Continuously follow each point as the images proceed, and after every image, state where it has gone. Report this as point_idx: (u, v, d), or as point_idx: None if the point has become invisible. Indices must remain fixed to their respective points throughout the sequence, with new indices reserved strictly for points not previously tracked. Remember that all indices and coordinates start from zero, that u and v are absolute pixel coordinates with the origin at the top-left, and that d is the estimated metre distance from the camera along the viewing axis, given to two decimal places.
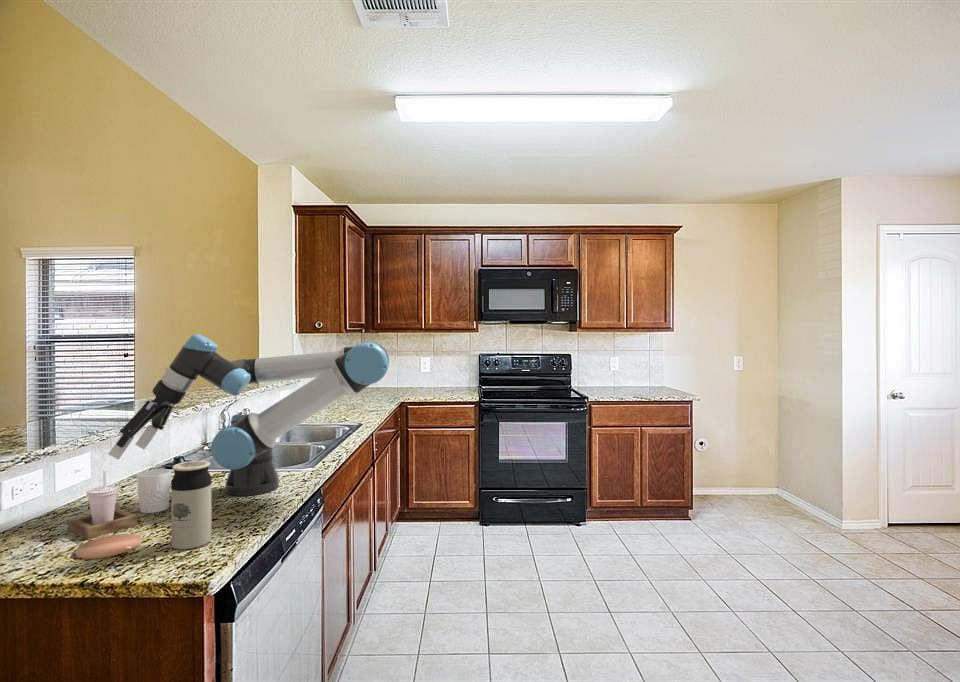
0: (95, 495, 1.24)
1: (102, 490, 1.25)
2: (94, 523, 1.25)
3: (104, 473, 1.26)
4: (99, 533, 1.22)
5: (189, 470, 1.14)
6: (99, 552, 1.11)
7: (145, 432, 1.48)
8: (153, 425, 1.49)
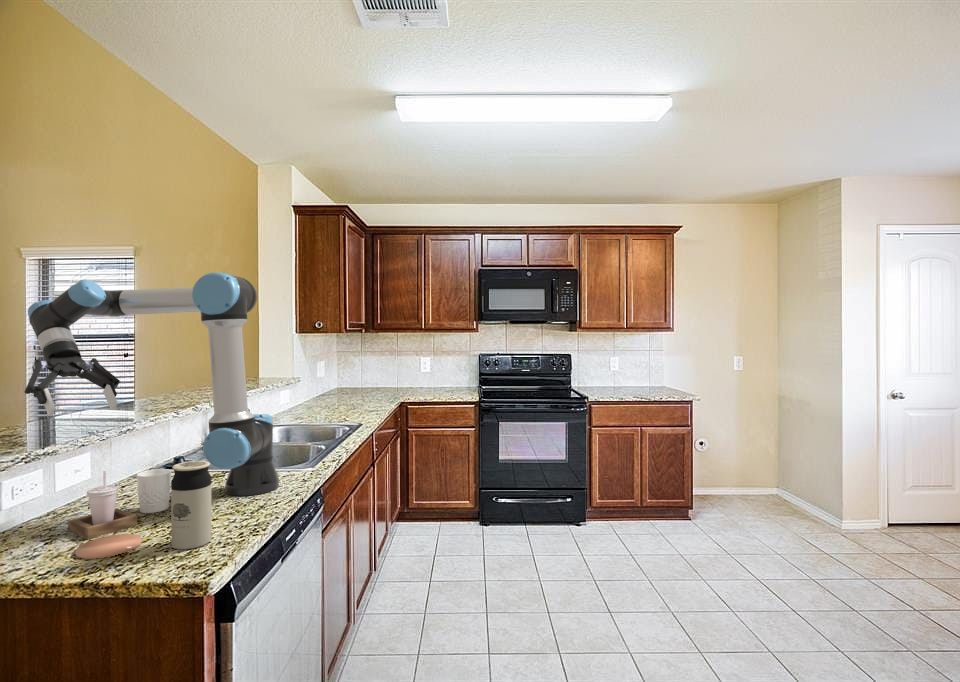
0: (95, 495, 1.24)
1: (102, 490, 1.25)
2: (94, 523, 1.25)
3: (104, 473, 1.26)
4: (99, 533, 1.22)
5: (189, 470, 1.14)
6: (99, 552, 1.11)
7: (106, 396, 1.40)
8: None
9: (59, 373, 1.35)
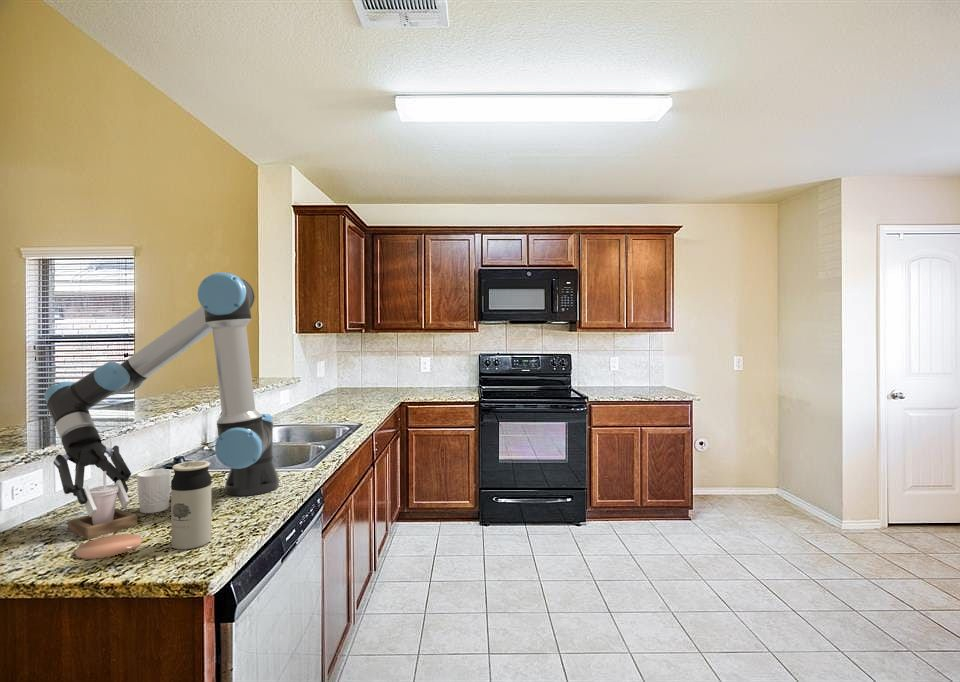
0: (95, 495, 1.24)
1: (102, 490, 1.25)
2: (94, 523, 1.25)
3: (104, 473, 1.26)
4: (99, 533, 1.22)
5: (189, 470, 1.14)
6: (99, 552, 1.11)
7: (117, 493, 1.30)
8: None
9: None
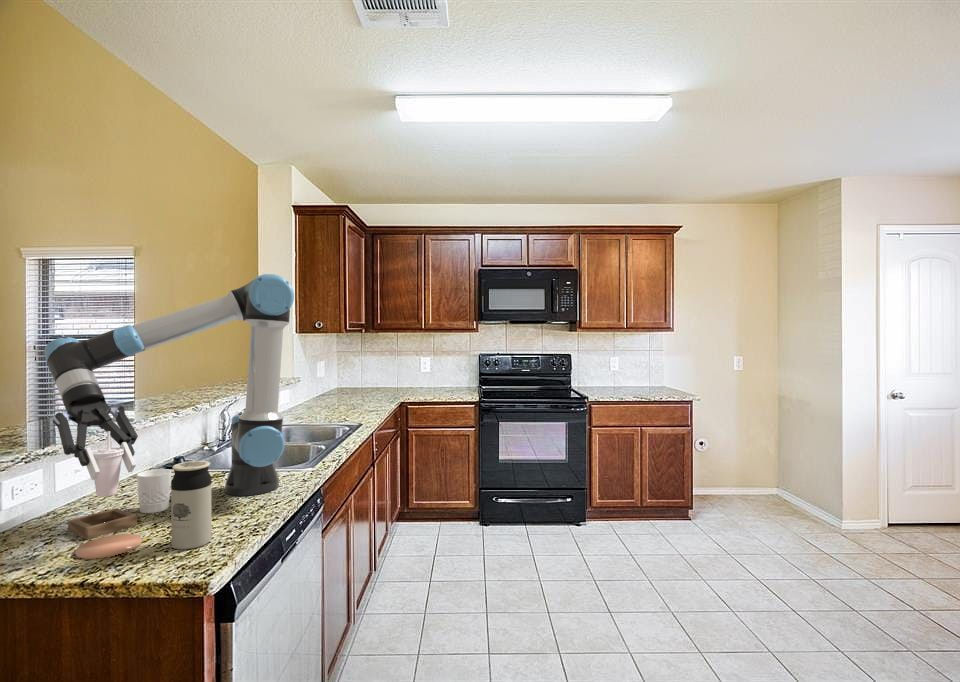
0: (98, 457, 1.12)
1: (106, 452, 1.14)
2: (97, 488, 1.14)
3: (108, 433, 1.15)
4: (99, 533, 1.22)
5: (189, 470, 1.14)
6: (99, 552, 1.11)
7: (122, 456, 1.18)
8: None
9: None
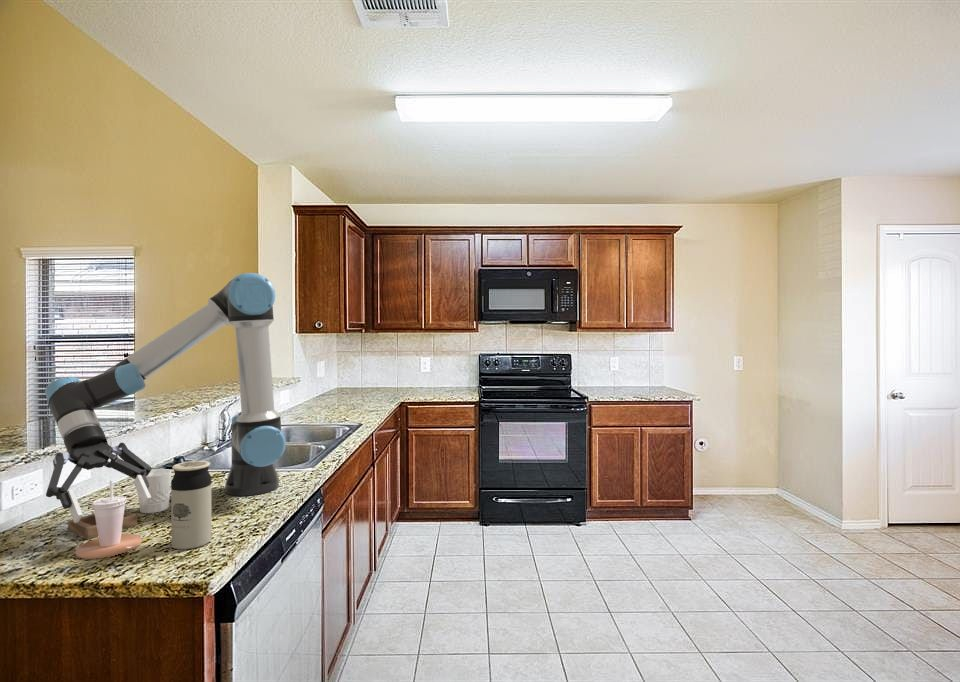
0: (101, 507, 1.12)
1: (109, 501, 1.14)
2: (100, 538, 1.14)
3: (111, 483, 1.15)
4: None
5: (189, 470, 1.14)
6: (99, 552, 1.11)
7: (137, 488, 1.21)
8: None
9: (84, 466, 1.17)
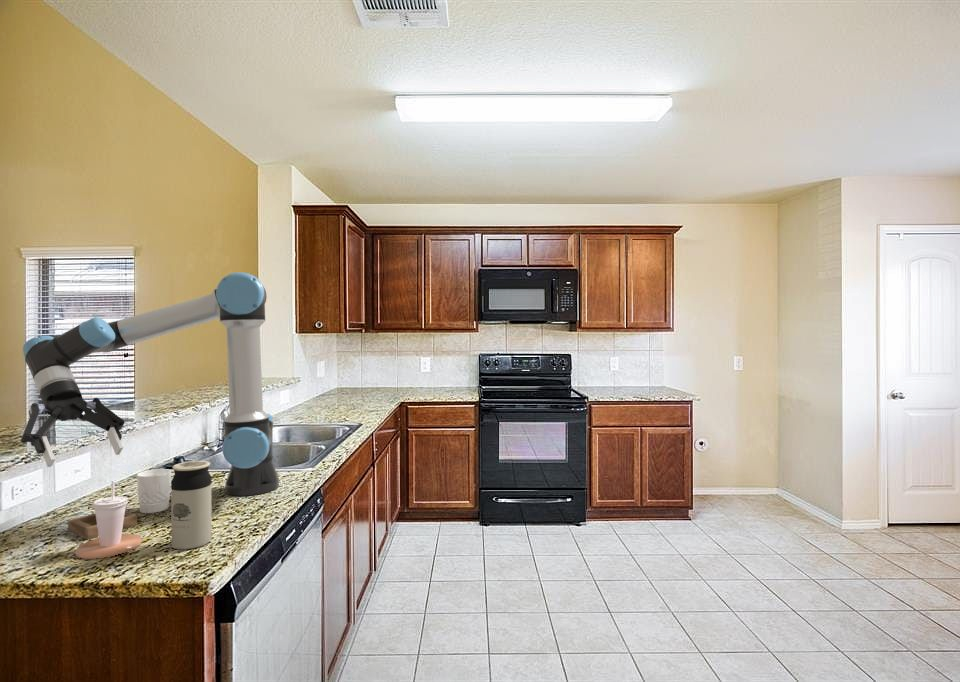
0: (102, 507, 1.12)
1: (110, 502, 1.14)
2: (101, 538, 1.14)
3: (112, 483, 1.15)
4: None
5: (189, 470, 1.14)
6: (99, 552, 1.11)
7: (110, 440, 1.28)
8: None
9: (58, 417, 1.23)
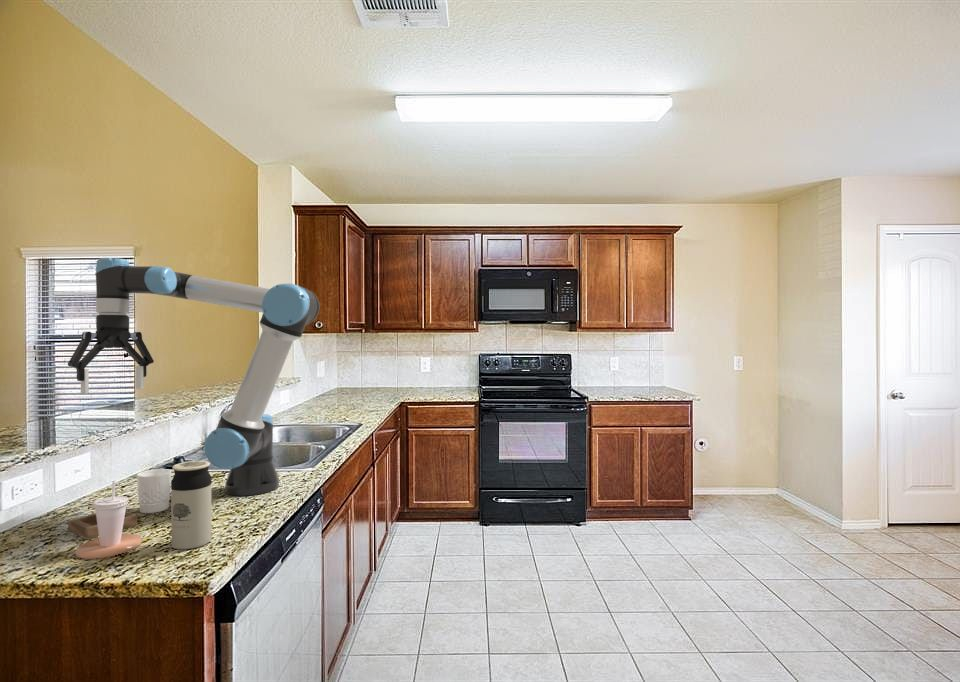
0: (102, 507, 1.12)
1: (110, 502, 1.14)
2: (101, 538, 1.14)
3: (113, 483, 1.15)
4: None
5: (189, 470, 1.14)
6: (99, 552, 1.11)
7: (136, 373, 1.50)
8: (139, 365, 1.50)
9: None
